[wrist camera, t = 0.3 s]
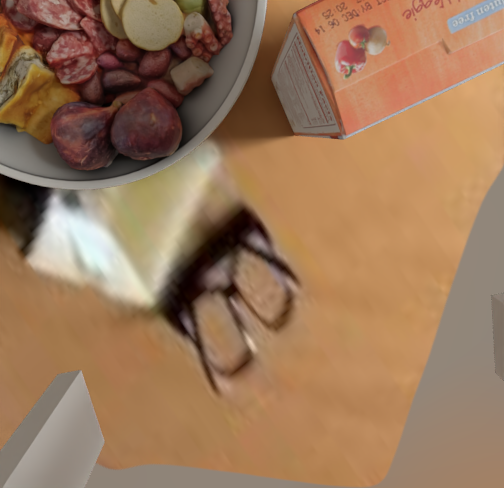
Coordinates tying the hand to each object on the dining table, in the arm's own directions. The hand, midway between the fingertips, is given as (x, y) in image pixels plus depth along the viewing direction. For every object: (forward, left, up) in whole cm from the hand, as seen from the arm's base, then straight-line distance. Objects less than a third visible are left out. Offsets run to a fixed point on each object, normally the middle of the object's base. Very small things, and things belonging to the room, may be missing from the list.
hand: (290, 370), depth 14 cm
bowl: (-20, -11, -28) cm, 36 cm away
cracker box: (-10, +10, -28) cm, 31 cm away
